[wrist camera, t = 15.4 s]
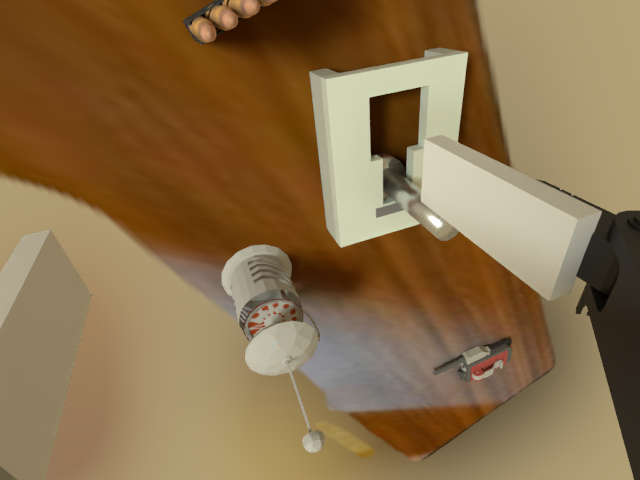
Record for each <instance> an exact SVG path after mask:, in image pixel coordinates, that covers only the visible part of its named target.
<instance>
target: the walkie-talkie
mask: <svg viewBox="0 0 640 480" xmlns="http://www.w3.org/2000/svg"><path fill="white" fill-rule="evenodd" d="M511 343H512V341H511V340H510V339H506V340H499V341H497V342H495V343H493V344H490V345H488V346H486V347H485V346H476V347H474V348H472V349H470V350H468V351H465V352H463V353H462V357H459V358H458V359H457V360H455V361H453V362H451V363H448V364H446V365H444V367H443V368H441V369H439V370H437V371H435V372H433V374H434V375H437V374H440V373H442V372H444V371H446V370H448V369H450V368H452V367H454V366H456V365H458V364H460V371H458V374H459V377H460V378H461V379H462V380H465V381H466V382H470V381H472V380H475V381H480V380H482V379H484V378H486V377H488V376H490V375H492V374H493V372H494V369H497V368H499V367H500V368H502V367H503V365H505V364H507V363H508V362H510V359H511V353H512V349H511V347H510V346H509V345H510V344H511Z"/></svg>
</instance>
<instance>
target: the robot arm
mask: <svg viewBox="0 0 640 480" xmlns="http://www.w3.org/2000/svg"><path fill="white" fill-rule="evenodd" d="M421 202H422V203H424V204H425V205H426V206H427V207H429V208H430V209H431V210H433V211H434V212H435V213H436V214H438V215H439V216H440V217H441V218H443V219H444V220H445V221H447V222H448V223H449V224H450V225H452V226H453V227H454V228H456V229H457V230H458V231H459V232H461V233H462V234H463V235H465V236H466V237H467V238H468V239H470V240H471V241H472V242H474V243H475V244H476V245H477V246H479V247H480V248H481V249H483V250H484V251H485V252H486V253H488V254H489V255H490V256H492V257H493V258H494V259H495V260H497V261H498V262H499V263H501V264H502V265H503V266H504V267H506V268H507V269H508V270H510V271H511V272H512V273H513V274H515V275H516V276H517V277H518V278H520V279H521V280H522V281H524V282H525V283H526V284H527V285H529V286H530V287H531V288H533V289H534V290H535V291H536V292H538V293H539V294H540V295H542V296H543V297H545V299H547V300H548V301H551V300H554V299H556V298H559V297H561V296H564V295H567V294H569V293H570V292H571V290H572V287H573V285H574V282H575V280H576V277H579V278H580V279H582V280H583V281H585V282H586V283H587V284H586V286H585V288H584V291H583V293H582V295H581V298H580V300H579V303H578V305H577V307H576V314H581V311H582V309H583V307H585V306H587V308H588V312H587V315H588V316H590V319H591V323H592V327H593V330H594V334H595V338H596V340H597V345H598V348H599V352H600V356H601V359H602V363H603V367H604V370H605V374H606V378H607V382H608V385H609V389H610V392H611V396H612V400H613V403H614V407H615V411H616V415H617V418H618V422H619V426H620V429H621V433H622V437H623V440H624V444H625V447H626V451H627V455H628V459H629V462H630V466H631V469H632V473H633V477H634V480H640V211H624V212H620V213H618V214H617V215H615V214H613V213H611V212H609V211H606V210H604V209H602V208H600V207H598V206H596V205H594V204H591V203H589V202H587V201H585V200H583V199H581V198H579V197H577V196H575V195H574V196H572V195H571V194H570V193H568V192H566V191H564V190H560V189H559V188H558V187H556V186H553V185H551V184H549V183H547V182H545V181H540V180H537V179H534V178H531V177H529V176H527V175H525V174H523V173H521V172H519V171H517V170H515V169H513V168H511V167H508V166H506V165H504V164H502V163H500V162H498V161H496V160H494V159H492V158H490V157H488V156H485V155H483V154H481V153H479V152H477V151H475V150H473V149H471V148H469V147H467V146H465V145H462V144H460V143H458V142H456V141H454V140H452V139H450V138H448V137H446V136H444V135H438V136H434V137H430V138H426V139H425V140H424V157H423V173H422V189H421ZM91 296H92V294H91V293H90V291H89V290H88V288H87V286H86V285H85V283H84V282H83V280H82V278H81V277H80V275H79V274H78V272H77V271H76V269H75V267H74V266H73V264H72V263H71V261H70V259H69V258H68V256H67V255H66V253H65V251H64V250H63V248H62V247H61V245H60V244H59V242H58V240H57V239H56V237H55V236H54V234H53V232H52V231H51V230H46V231H41V232H38V233H34V234H29V235H25V236H23V237H22V238H21V240H20V241H19V243H18V245H17V246H16V248H15V250H14V251H13V253H12V255H11V256H10V258H9V260H8V261H7V263H6V264H5V266H4V268H3V269H2V271H1V273H0V480H45V478H46V475H47V471H48V467H49V463H50V459H51V455H52V451H53V447H54V443H55V439H56V435H57V431H58V427H59V423H60V419H61V415H62V411H63V407H64V403H65V399H66V395H67V391H68V387H69V383H70V379H71V375H72V372H73V368H74V363H75V359H76V356H77V352H78V348H79V344H80V340H81V335H82V332H83V328H84V324H85V320H86V316H87V312H88V308H89V304H90V300H91Z"/></svg>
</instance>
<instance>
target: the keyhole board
mask: <svg viewBox="0 0 640 480" xmlns="http://www.w3.org/2000/svg"><path fill="white" fill-rule="evenodd" d="M467 58H468V52H463V51H457V50H451V49H445V48H436V49H430V50H425V55H424V58H418V59H413V60H407V61H402V62H397V63H391V64H386V65H381V66H375V67H370V68H365V69H359V70H354V71H348V72H343V73H337V72H335V71H333V70H330V69H328V68H326V69H320V70H315V71H309V72H310V81H311V90H312V99H313V108H314V117H315V126H316V135H317V144H318V153H319V162H320V171H321V180H322V189H323V198H324V207H325V216H326V225H327V229H328V231H329V232H330V233H331V235H332V236H333V238H334V239H335V240H336V242H337V243H338V245H339V246H340V247H344V246H347V245H351V244H354V243H357V242H361V241H364V240H368V239H371V238H374V237H378V236H381V235H384V234H388V233H391V232H394V231H398V230H401V229H404V228H408V227H411V226H414V225H418V224H420V223H419V222H418V221H417V220H416V219H414V218H413V217H412V216H411V215H410V214H408V213H407V212H406V211H405V210H404V209H403V208H401V207H400V206H399V205H398V204H397V203H396V202H394V201H393V200H392V199H391V198H390V197H385V198H383V159H382V158H381V157H380V156H378V155H373V156H371V147H370V107H369V98H370V97H374V96H379V95H384V94H389V93H394V92H399V91H404V90H408V89H413V88H418V87H421V99H420V118H419V137H418V145H414V146H410V147H407V164H406V179H408V180H409V181H411V182H412V183H413V184H415V185H416V186H418V187H419V188H421V189H422V173H423V157H424V140H425V139H426V138H430V137H434V136H438V135H444V136H446V137H448V138H450V139H452V140H454V141H456V142H458V136H459V127H460V118H461V110H462V101H463V92H464V84H465V75H466V66H467Z"/></svg>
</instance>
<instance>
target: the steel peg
mask: <svg viewBox="0 0 640 480" xmlns="http://www.w3.org/2000/svg"><path fill="white" fill-rule="evenodd" d="M376 155H378V156H380V157H381V158H382V159H383V198H385V197H390V198H391V199H392V200H393V201H394V202H396V203H397V204H398V205H399V206H400V207H401V208H403V209H404V210H405V211H406V212H407V213H408V214H410V215H411V216H412V217H413V218H414V219H416V220H417V221H418V222H419V223H420V224H421V225H423V226H424V227H425V228H426V229H427V230H428V231H430V232H431V233H432V234H433V235H434V236H436V237H437V238H438V239H439V240H441V241H447V240H450V239H452V238H453V237H454V236H456V234H457V233H458V232H459V231H458V230H457V229H456V228H454V227H453V226H452V225H450V224H449V223H448V222H447V221H445V220H444V219H443V218H441V217H440V216H439V215H438V214H436V213H435V212H434V211H433V210H431V209H430V208H429V207H427V206H426V205H425V204H424V203H422V202H421V188H419V187H418V186H416V185H415V184H413V183H412V182H411V181H409V180H408V179H406V178H405V168H404V166H403V164H402V163H401V162H400V161H399V160H397V159H396V158H394V157H393V156H391V155H390V154H387V153H379V154H376Z"/></svg>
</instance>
